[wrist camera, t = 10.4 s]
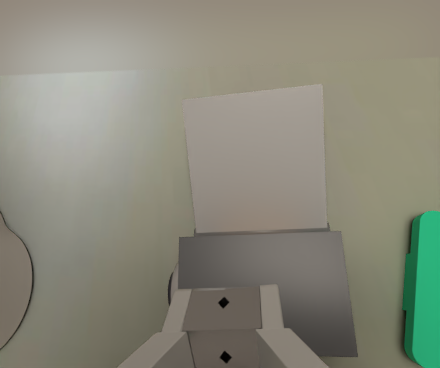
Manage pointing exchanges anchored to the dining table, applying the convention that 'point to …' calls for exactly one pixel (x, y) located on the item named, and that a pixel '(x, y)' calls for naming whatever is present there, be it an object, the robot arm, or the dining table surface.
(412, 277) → the camera mount
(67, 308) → the dining table surface
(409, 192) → the dining table surface
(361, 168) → the dining table surface
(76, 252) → the dining table surface
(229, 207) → the side door
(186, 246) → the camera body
